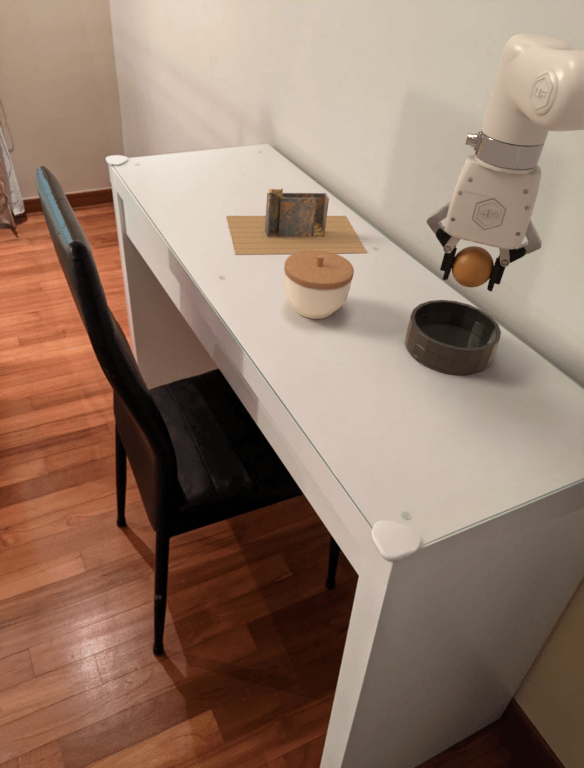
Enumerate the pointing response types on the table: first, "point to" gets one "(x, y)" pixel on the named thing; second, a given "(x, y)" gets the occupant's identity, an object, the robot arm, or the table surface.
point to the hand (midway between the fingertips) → (468, 280)
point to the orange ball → (472, 266)
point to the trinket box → (317, 282)
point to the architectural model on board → (293, 227)
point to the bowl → (452, 337)
